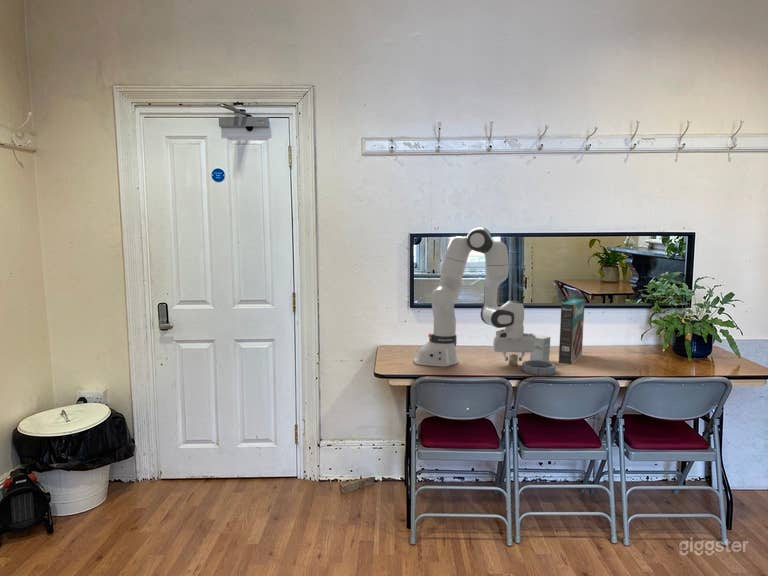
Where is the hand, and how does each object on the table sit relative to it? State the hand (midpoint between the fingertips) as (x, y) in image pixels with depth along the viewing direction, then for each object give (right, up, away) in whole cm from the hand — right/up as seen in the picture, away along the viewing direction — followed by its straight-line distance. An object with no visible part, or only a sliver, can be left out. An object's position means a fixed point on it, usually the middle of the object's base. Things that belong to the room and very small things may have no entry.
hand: (513, 360), depth 264 cm
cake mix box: (+33, -1, +12) cm, 35 cm away
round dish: (+9, -4, -11) cm, 15 cm away
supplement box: (+16, -1, +8) cm, 18 cm away
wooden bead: (0, -2, 0) cm, 2 cm away
